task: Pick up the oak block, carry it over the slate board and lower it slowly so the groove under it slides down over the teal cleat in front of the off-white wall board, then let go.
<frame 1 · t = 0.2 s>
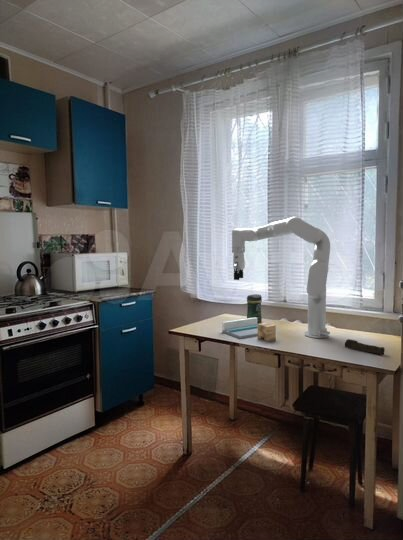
hand: (238, 278, 229), 31 cm above the table, tool pointing down, fingers open, 9 cm apart
cleat board: (248, 332, 225), on the table
coffee jar: (254, 323, 249), on the table
hand tool: (362, 352, 186), on the table
oak block: (266, 339, 210), on the table
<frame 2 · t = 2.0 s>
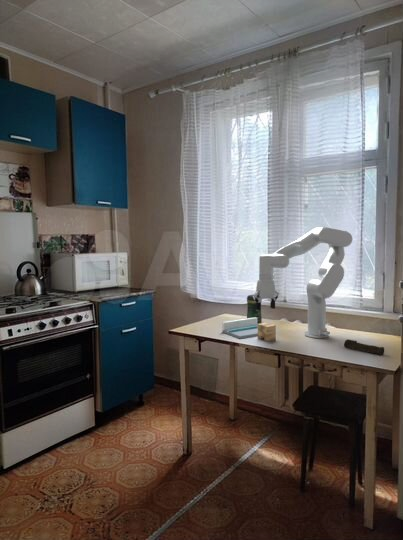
hand: (265, 309, 209), 17 cm above the table, tool pointing down, fingers open, 9 cm apart
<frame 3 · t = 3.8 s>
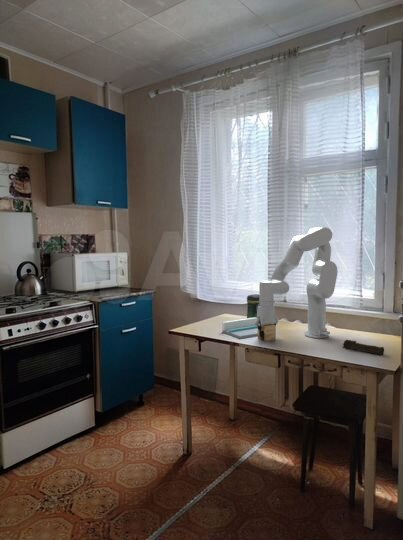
hand: (266, 336, 210), 2 cm above the table, tool pointing down, fingers closed on oak block, 6 cm apart
oak block: (266, 339, 210), on the table, touching gripper
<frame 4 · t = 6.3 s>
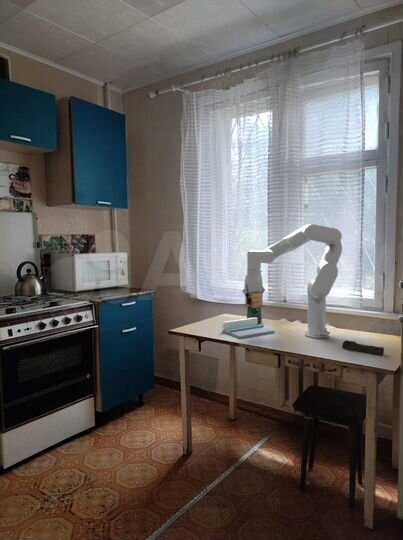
hand: (253, 303, 218), 18 cm above the table, tool pointing down, fingers closed on oak block, 6 cm apart
oak block: (253, 306, 218), point 16 cm above the table, touching gripper
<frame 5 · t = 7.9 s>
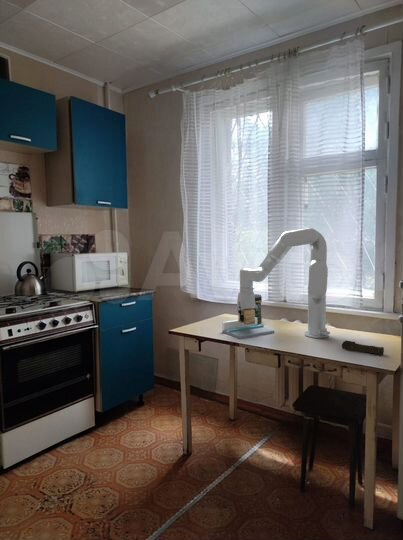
hand: (246, 320, 226), 7 cm above the table, tool pointing down, fingers closed on oak block, 6 cm apart
oak block: (246, 322, 226), point 5 cm above the table, touching gripper
when the fingers open (4 cm above the table, at t = 9.0 s): oak block stays where it is, resting on cleat board.
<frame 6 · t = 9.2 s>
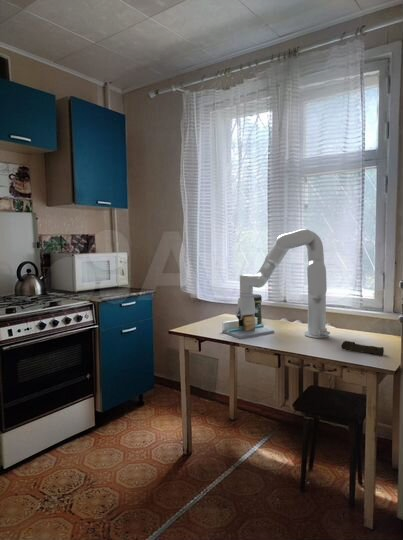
hand: (246, 325, 226), 4 cm above the table, tool pointing down, fingers open, 7 cm apart
oak block: (246, 329, 226), point 1 cm above the table, touching cleat board
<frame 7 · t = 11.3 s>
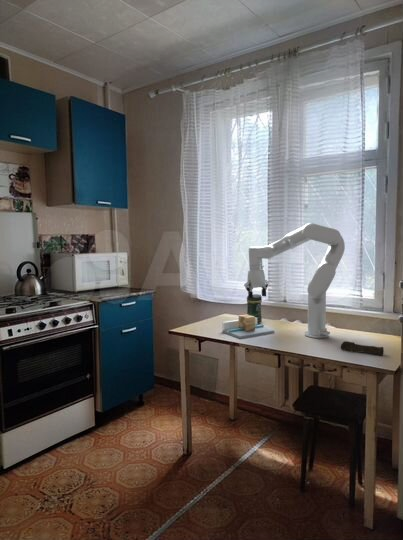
hand: (257, 297, 224), 21 cm above the table, tool pointing down, fingers open, 9 cm apart
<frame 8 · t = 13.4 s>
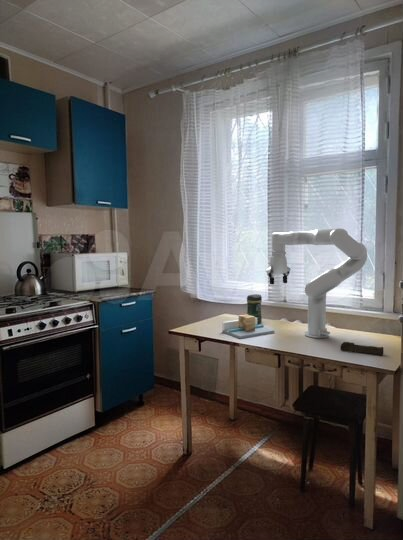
hand: (278, 283, 223), 28 cm above the table, tool pointing down, fingers open, 9 cm apart
at the end: oak block inside the target area (0.1 cm from its centre), point 1.5 cm above the table; oak block tilted 0°; the gripper is holding nothing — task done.
